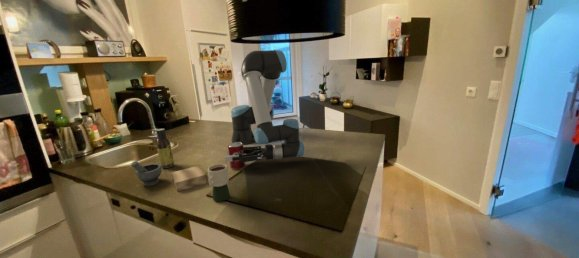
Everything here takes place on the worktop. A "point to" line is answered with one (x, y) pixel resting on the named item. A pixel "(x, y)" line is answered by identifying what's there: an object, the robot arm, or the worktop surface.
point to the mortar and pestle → (147, 173)
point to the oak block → (189, 178)
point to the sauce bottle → (164, 150)
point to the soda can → (236, 149)
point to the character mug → (219, 181)
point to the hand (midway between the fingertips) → (226, 155)
